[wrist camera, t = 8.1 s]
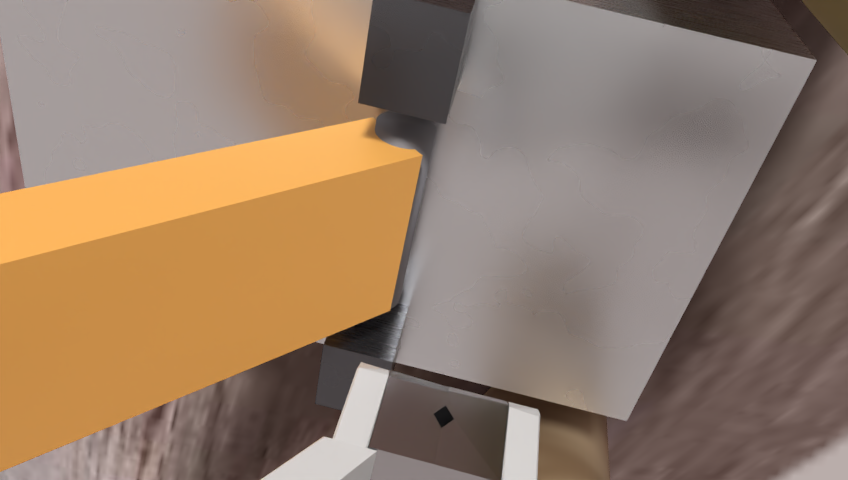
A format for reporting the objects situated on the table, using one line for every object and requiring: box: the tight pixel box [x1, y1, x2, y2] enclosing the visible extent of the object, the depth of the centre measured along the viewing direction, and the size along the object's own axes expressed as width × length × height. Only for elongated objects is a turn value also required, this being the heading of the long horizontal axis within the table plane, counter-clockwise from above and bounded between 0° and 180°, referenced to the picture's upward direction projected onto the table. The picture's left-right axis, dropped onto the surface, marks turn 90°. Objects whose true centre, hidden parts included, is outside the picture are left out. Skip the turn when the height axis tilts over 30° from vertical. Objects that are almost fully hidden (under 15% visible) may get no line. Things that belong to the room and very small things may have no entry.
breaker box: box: [0, 0, 817, 421], centre depth 17 cm, size 16×10×6 cm, turn 78°
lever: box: [0, 111, 436, 472], centre depth 13 cm, size 2×4×11 cm
